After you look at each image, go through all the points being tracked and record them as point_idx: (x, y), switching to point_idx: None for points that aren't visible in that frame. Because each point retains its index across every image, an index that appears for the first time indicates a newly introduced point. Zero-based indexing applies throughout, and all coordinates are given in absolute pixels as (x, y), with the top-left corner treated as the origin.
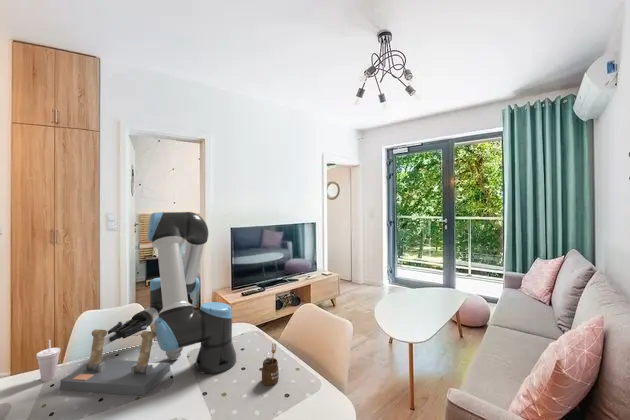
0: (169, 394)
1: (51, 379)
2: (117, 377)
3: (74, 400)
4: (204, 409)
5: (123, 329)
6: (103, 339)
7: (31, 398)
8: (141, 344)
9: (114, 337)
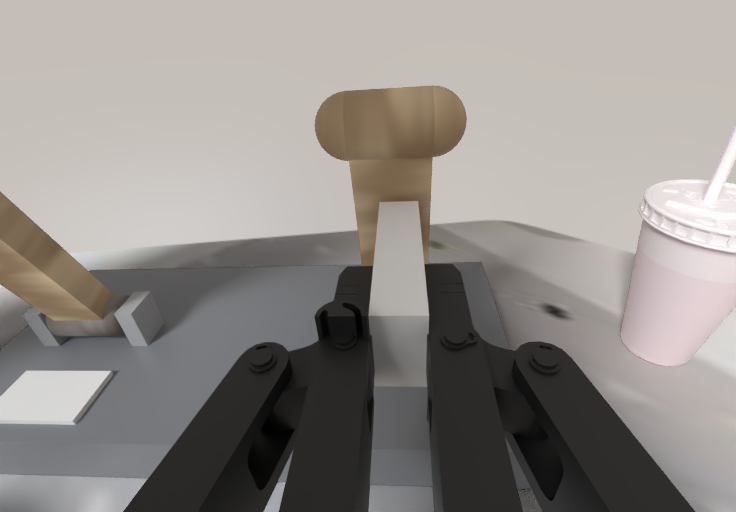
0: (5, 312)
1: (620, 333)
2: (225, 297)
3: (355, 264)
4: None
5: (329, 438)
6: (353, 186)
7: (524, 257)
8: (22, 214)
9: (337, 292)
